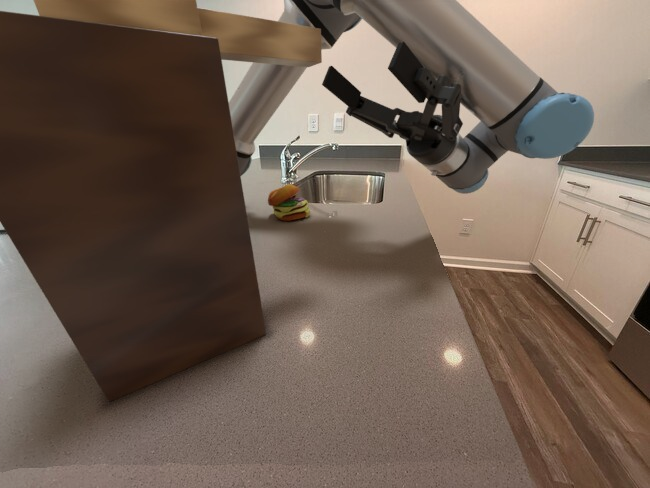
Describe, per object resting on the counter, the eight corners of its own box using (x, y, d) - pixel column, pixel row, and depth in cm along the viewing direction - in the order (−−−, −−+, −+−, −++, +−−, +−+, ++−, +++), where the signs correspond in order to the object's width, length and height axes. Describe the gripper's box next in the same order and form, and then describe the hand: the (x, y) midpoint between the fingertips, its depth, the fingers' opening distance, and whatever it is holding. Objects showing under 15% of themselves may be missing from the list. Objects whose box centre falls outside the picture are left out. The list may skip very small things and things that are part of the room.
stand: (108, 402, 25) (-140, -8, 12) (119, 327, 34) (-15, 50, 21) (266, 334, 32) (218, 37, 20) (240, 288, 42) (195, 66, 29)
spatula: (40, 17, 15) (12, -54, 14) (78, 56, 24) (63, 14, 22) (342, 55, 26) (343, 16, 24) (294, 72, 34) (292, 44, 33)
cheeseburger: (306, 223, 67) (294, 186, 63) (270, 230, 70) (257, 195, 67) (315, 210, 76) (305, 177, 72) (282, 217, 79) (271, 185, 75)
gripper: (499, 175, 37) (424, 82, 23) (378, 159, 56) (299, 103, 43) (526, 124, 36) (462, -3, 22) (393, 125, 55) (317, 57, 42)
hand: (355, 66), depth 33 cm, fingers open, 13 cm apart
